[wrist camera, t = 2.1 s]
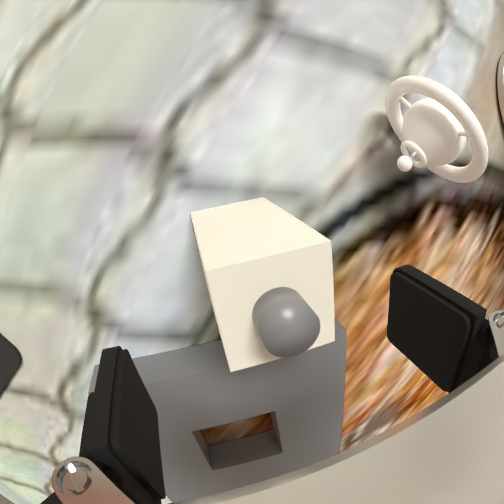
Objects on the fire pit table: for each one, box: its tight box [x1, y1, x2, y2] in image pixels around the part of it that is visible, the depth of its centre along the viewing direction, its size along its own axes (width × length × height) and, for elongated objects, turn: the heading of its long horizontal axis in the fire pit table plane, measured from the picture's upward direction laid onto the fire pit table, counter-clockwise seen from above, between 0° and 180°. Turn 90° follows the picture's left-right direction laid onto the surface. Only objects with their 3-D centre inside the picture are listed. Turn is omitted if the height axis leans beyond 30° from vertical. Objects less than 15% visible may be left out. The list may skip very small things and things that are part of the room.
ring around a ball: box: [385, 76, 488, 183], centre depth 16 cm, size 8×6×8 cm
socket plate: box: [89, 317, 346, 503], centre depth 24 cm, size 18×18×3 cm
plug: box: [191, 197, 335, 372], centre depth 15 cm, size 4×4×10 cm
